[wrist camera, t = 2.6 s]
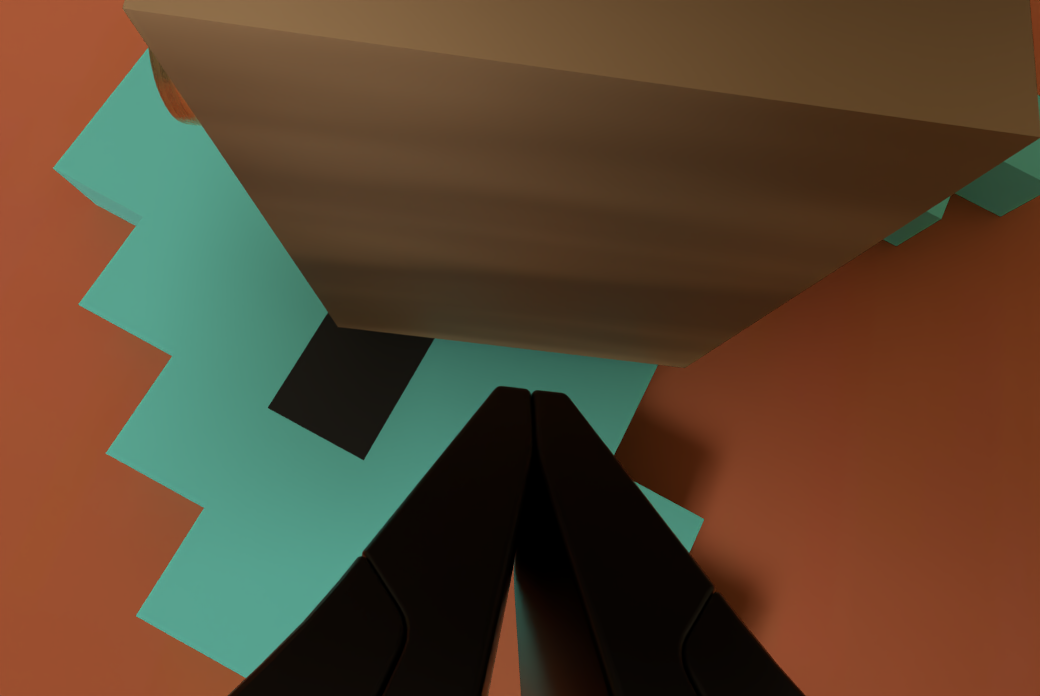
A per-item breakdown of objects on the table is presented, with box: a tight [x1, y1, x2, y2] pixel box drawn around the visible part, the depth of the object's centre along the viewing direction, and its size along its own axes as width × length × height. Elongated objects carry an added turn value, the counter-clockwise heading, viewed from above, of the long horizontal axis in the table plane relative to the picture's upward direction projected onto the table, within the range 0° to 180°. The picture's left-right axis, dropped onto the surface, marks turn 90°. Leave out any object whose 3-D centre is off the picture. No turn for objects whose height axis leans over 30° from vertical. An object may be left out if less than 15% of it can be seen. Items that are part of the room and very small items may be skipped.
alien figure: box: [53, 48, 1040, 678], centre depth 16 cm, size 20×2×20 cm
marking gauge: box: [123, 0, 1040, 368], centre depth 11 cm, size 8×8×9 cm
